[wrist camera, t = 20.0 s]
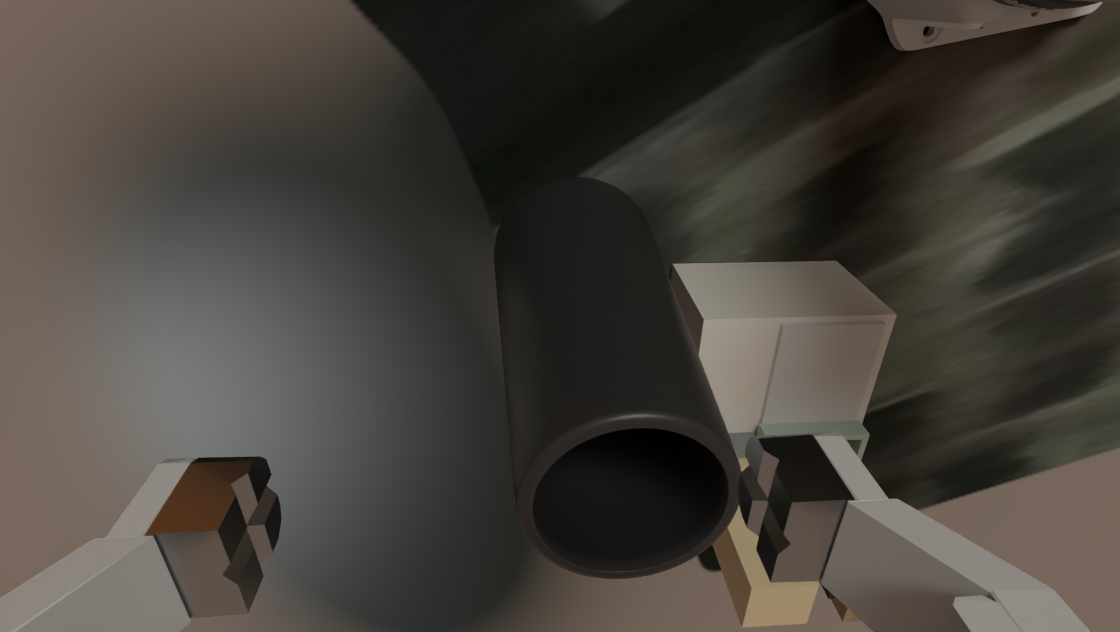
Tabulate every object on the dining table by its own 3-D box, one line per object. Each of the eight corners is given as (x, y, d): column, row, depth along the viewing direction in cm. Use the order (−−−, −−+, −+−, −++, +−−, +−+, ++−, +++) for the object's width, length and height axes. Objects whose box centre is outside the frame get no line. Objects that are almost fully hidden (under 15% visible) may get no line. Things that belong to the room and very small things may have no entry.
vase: (481, 189, 50) (453, 410, 25) (647, 165, 50) (787, 362, 25) (508, 331, 57) (508, 619, 32) (655, 310, 57) (771, 581, 32)
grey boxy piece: (836, 260, 56) (1033, 435, 35) (794, 426, 65) (930, 642, 44) (672, 263, 55) (774, 445, 34) (653, 431, 64) (724, 655, 43)
